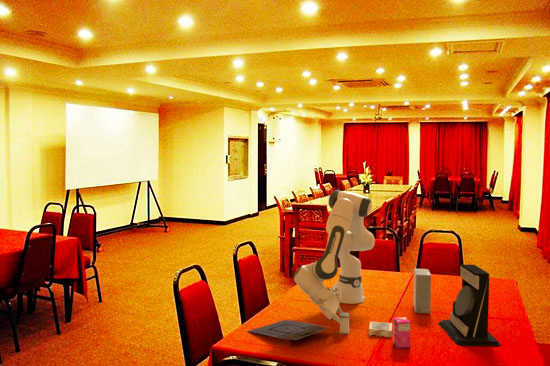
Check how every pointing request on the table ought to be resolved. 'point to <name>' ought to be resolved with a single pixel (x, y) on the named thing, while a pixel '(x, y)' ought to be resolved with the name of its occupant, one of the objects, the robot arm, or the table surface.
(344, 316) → the plate
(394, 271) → the table surface
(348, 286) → the robot arm
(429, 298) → the hard drive box
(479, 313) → the award
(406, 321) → the supplement box
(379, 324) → the oak stand
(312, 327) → the dark grey panelled slab
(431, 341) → the table surface
